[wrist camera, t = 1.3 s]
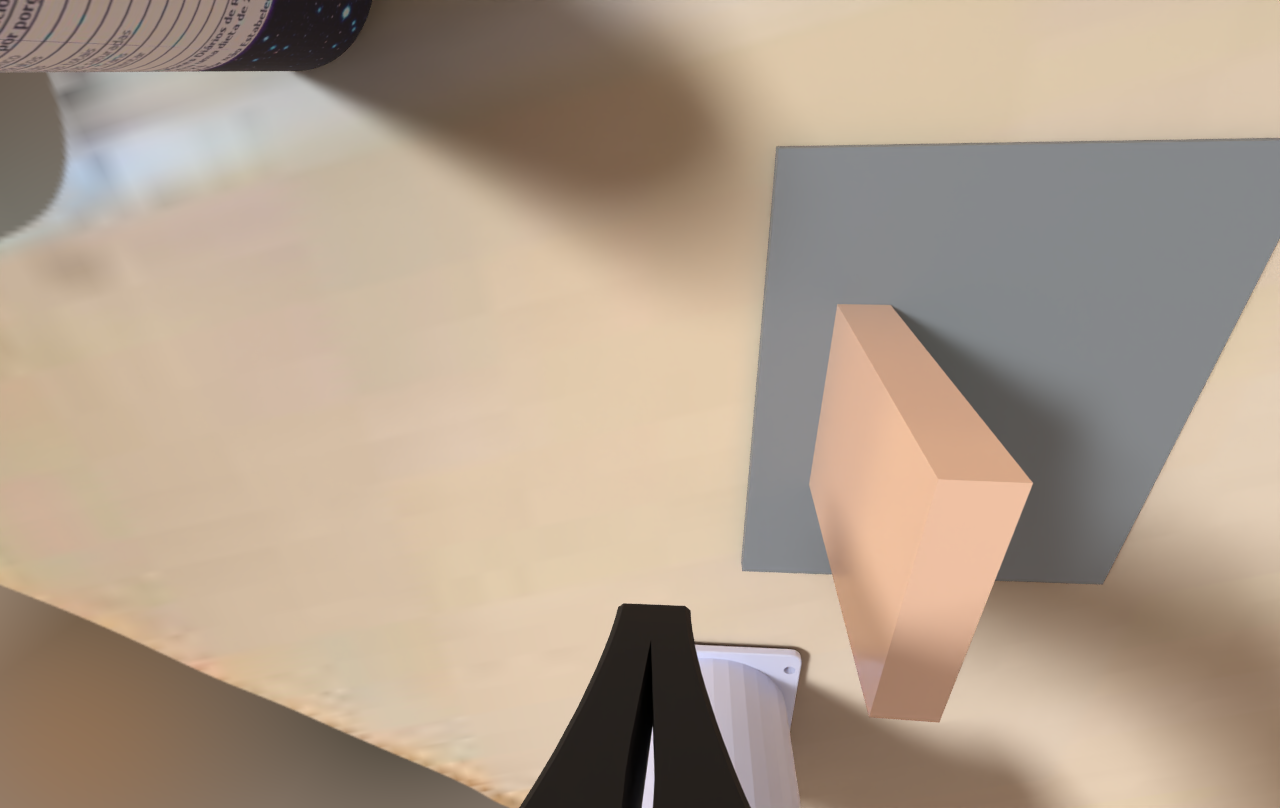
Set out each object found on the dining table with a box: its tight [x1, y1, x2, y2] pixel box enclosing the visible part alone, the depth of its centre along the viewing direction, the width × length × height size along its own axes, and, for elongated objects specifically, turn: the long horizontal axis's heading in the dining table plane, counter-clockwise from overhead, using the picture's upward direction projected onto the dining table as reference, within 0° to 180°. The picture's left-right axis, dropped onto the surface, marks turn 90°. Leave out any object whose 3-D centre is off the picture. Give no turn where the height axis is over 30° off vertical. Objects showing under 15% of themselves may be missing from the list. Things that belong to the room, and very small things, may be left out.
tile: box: [809, 304, 1033, 722], centre depth 16 cm, size 7×2×9 cm, turn 1°
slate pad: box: [741, 138, 1280, 585], centre depth 20 cm, size 16×14×1 cm
